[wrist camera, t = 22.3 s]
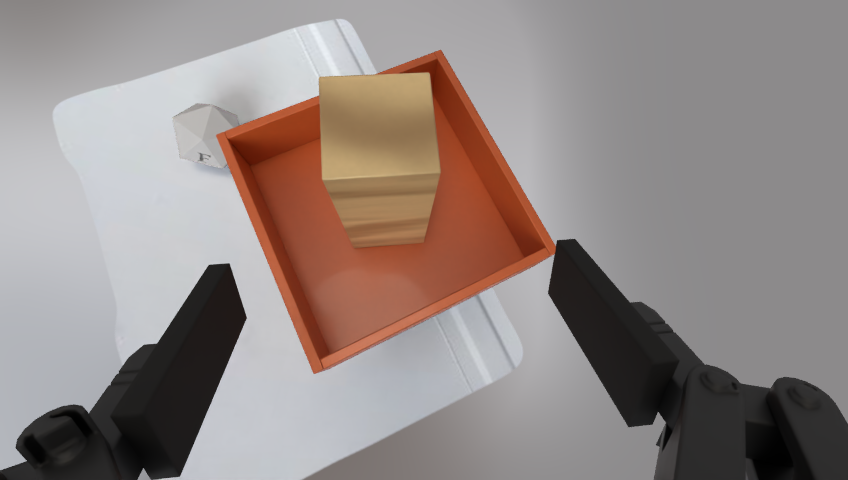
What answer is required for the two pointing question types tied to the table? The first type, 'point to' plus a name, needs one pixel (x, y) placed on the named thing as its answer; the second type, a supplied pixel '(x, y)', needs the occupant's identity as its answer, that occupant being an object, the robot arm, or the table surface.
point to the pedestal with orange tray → (382, 265)
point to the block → (380, 155)
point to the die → (203, 133)
